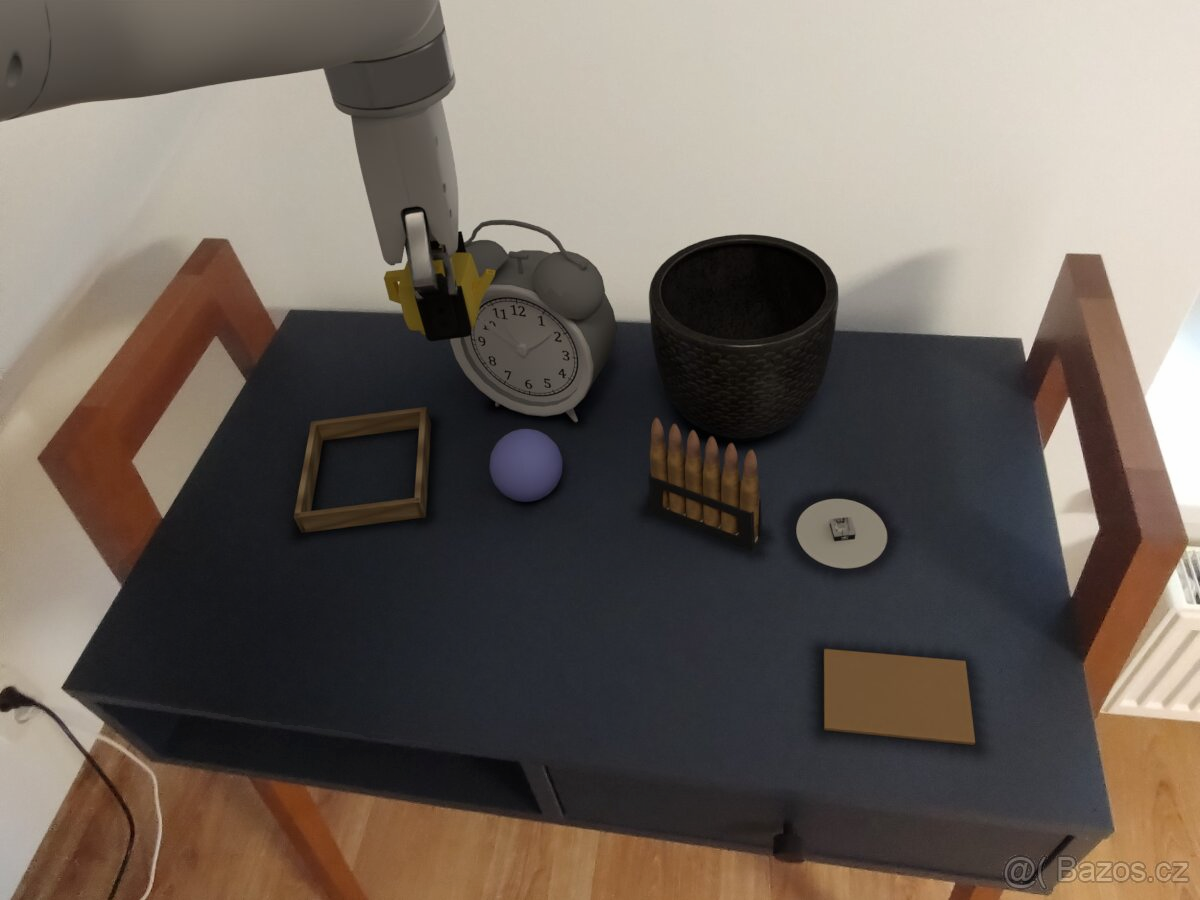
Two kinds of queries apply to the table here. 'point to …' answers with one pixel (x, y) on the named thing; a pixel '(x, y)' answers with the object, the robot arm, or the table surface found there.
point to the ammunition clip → (705, 488)
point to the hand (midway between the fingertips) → (450, 305)
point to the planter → (743, 332)
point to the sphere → (525, 465)
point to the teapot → (463, 274)
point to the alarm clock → (536, 327)
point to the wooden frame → (372, 511)
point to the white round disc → (841, 533)
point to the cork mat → (897, 696)
